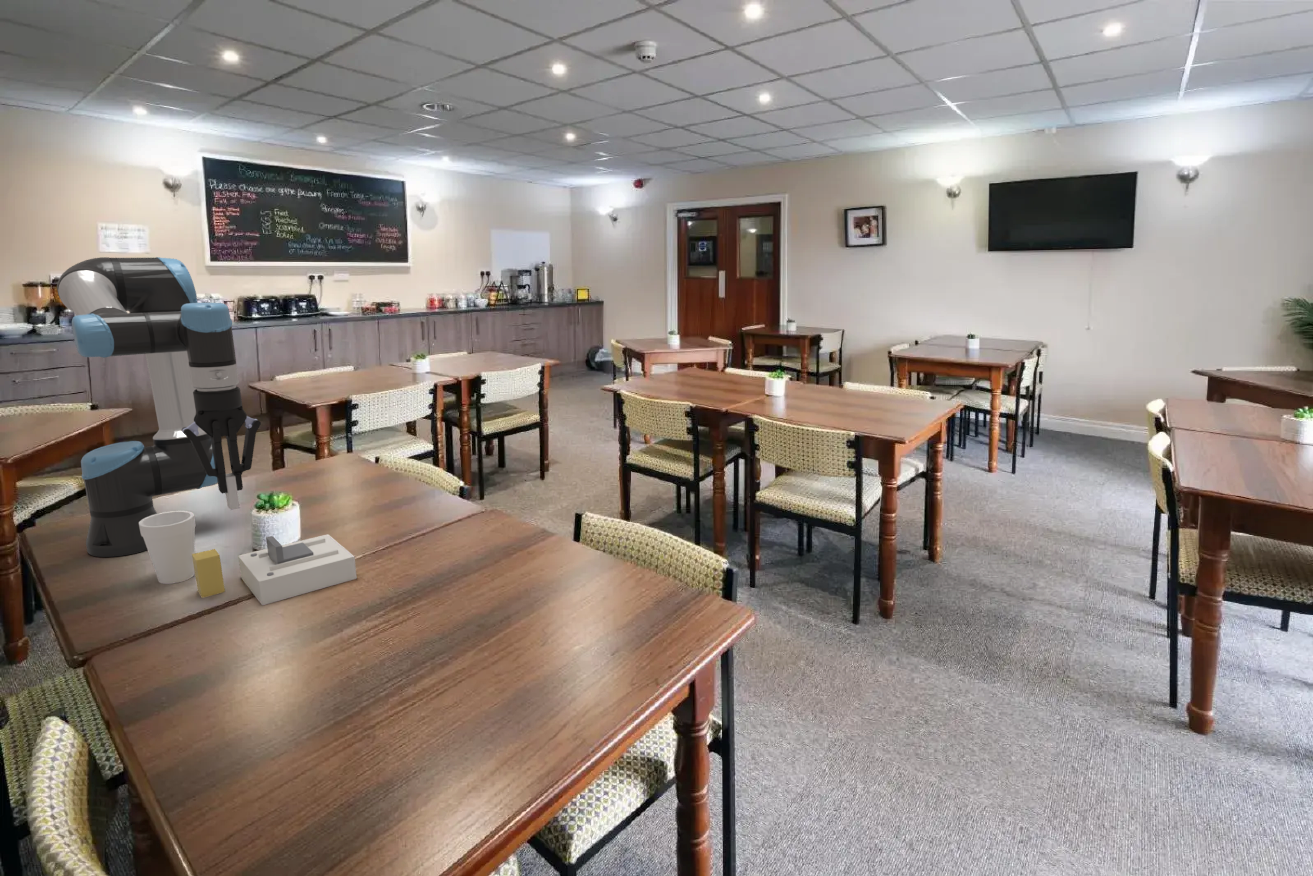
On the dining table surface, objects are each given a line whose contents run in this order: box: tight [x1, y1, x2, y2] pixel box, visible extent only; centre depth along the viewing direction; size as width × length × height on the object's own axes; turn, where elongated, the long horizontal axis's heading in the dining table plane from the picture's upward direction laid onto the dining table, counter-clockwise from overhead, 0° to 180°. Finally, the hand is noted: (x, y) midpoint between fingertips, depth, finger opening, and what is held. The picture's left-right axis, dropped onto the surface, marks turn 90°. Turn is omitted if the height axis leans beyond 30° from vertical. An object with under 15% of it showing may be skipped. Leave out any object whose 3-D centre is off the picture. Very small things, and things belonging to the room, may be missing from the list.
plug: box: [192, 548, 226, 599], centre depth 141 cm, size 4×4×8 cm
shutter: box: [265, 535, 313, 564], centre depth 146 cm, size 7×7×4 cm
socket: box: [237, 533, 357, 606], centre depth 148 cm, size 16×18×6 cm
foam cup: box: [139, 510, 197, 585], centre depth 146 cm, size 10×9×13 cm
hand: (233, 507), depth 137 cm, fingers closed
